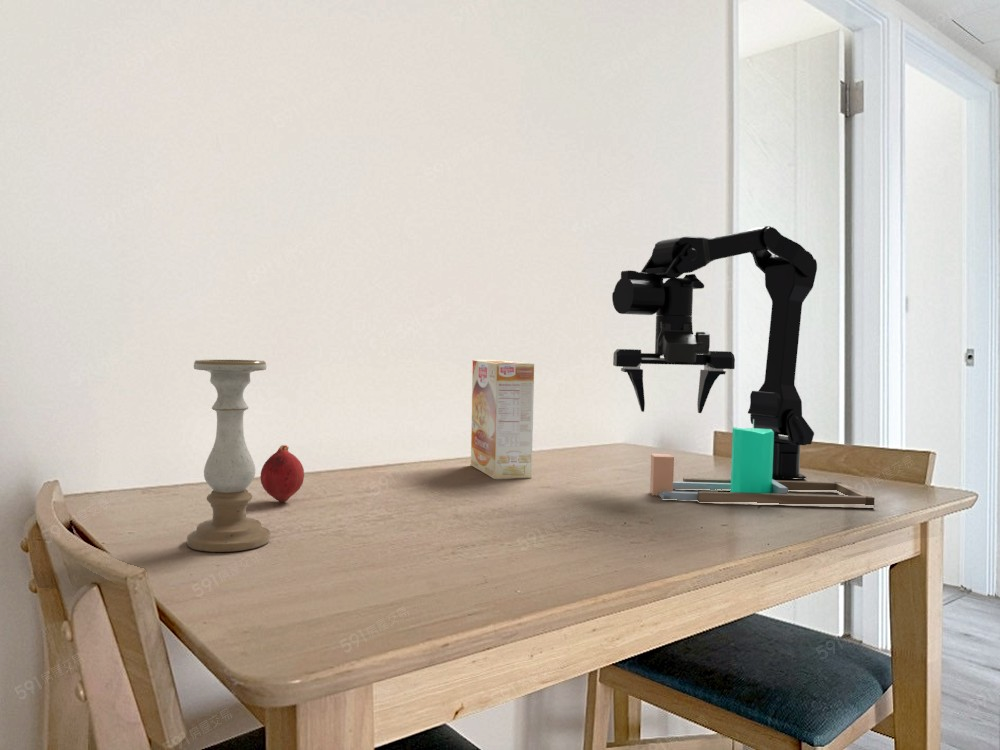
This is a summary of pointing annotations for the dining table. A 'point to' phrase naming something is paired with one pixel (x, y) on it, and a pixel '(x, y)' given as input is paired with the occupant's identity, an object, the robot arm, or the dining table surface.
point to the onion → (282, 474)
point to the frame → (664, 482)
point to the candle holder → (229, 464)
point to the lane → (852, 493)
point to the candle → (752, 460)
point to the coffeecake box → (502, 418)
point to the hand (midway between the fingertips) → (671, 412)
